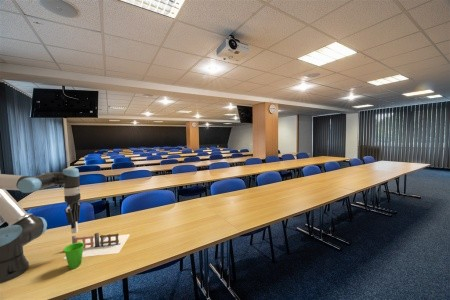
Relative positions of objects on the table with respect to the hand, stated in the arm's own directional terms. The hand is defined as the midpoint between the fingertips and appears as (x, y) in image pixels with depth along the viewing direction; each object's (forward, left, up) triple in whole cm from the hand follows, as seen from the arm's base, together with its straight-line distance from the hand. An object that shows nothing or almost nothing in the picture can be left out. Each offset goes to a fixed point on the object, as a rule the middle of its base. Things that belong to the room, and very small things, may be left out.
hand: (74, 232), depth 117 cm
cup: (-12, -6, -14) cm, 19 cm away
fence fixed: (+7, -15, -13) cm, 21 cm away
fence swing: (+7, -1, -13) cm, 15 cm away
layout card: (+8, -10, -14) cm, 19 cm away
